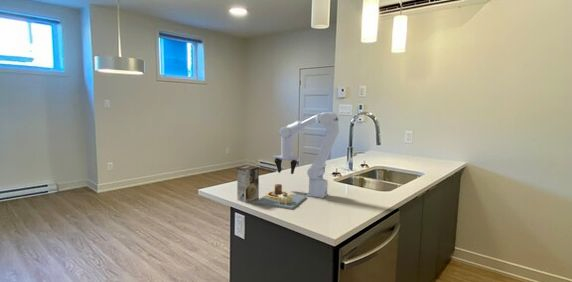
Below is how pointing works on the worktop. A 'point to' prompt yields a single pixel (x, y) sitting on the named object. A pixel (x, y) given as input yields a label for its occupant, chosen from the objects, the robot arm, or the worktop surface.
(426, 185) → the worktop surface
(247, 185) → the coffee box
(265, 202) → the carrier plate
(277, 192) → the planet gear
